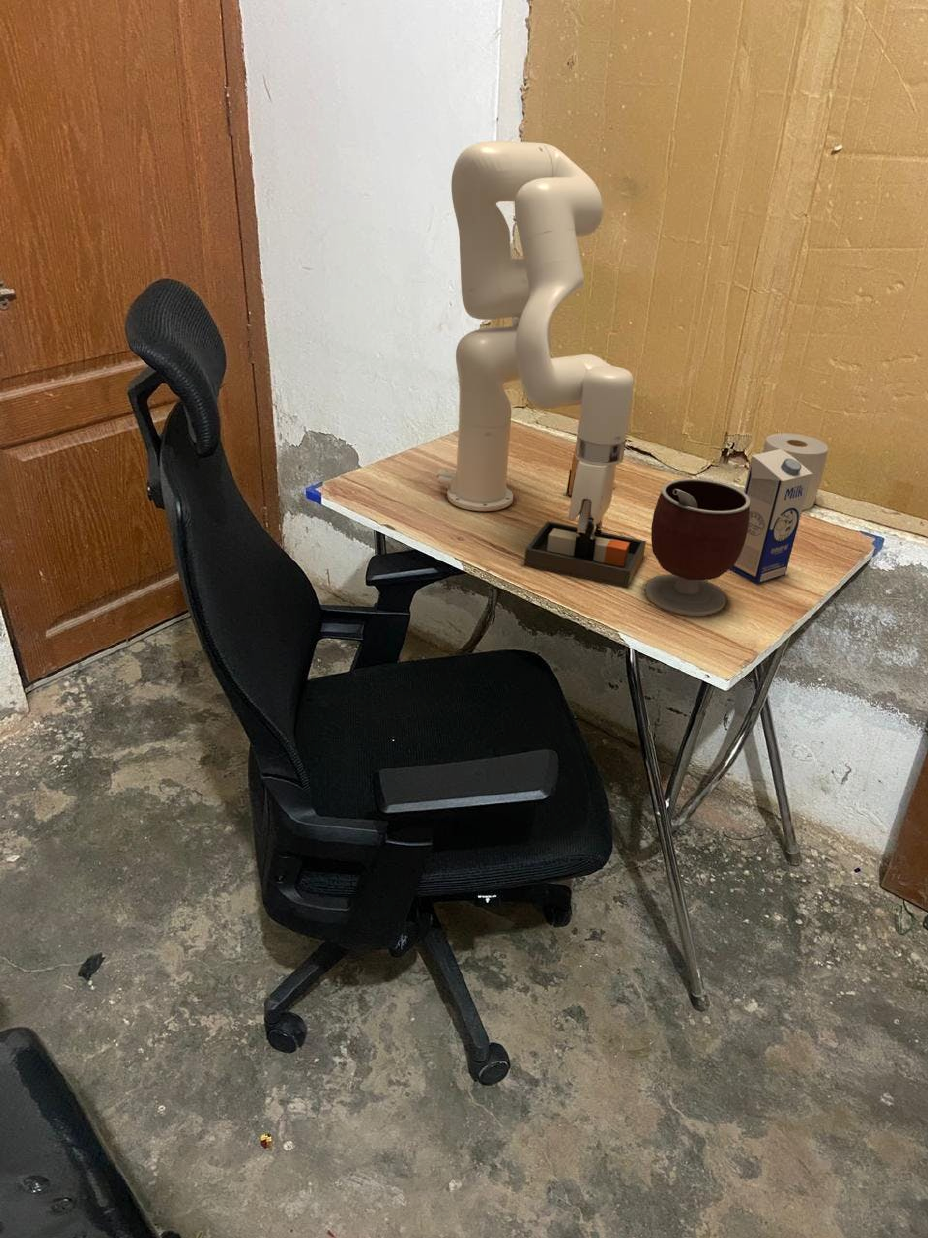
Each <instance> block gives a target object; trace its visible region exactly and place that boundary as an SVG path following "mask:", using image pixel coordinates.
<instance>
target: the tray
mask: <svg viewBox="0 0 928 1238" xmlns="http://www.w3.org/2000/svg"><path fill="white" fill-rule="evenodd" d="M554 528H555V529H560V530H565V531H570V532H576V533H577V529H578V526H574V525H573V526H572V525H568V524H563V523H559V522H553V521H546V522H545V524H544V525H543V526H542V527H541V529H540V530H539V531H538V533H537V534H536V535H535V536H534V538H533V539H532V540H531V541H530V543H529V544H528V545H527V546H526V548H525V549H524V550H525V551H524V562H523V565H524V566H526V567H530V568H534V569H540V570H542V571H543V570H544V571H548V572H553V573H558V574H561V575H566V576H571V577H576V578H579V579H584V580H588V581H593V582H599V583H601V584H602V583H603V584H608V585H612V586H616V587H621V588H626V589H629V586H630V585H631V584H632V583H631V582H632V581H633V578H634V577H635V574H636V572H637V570H638V569H639V566H640V564H641V562H642V560H643V559H644V555H645V550H646V543H647V541H646V540H642V539H637V538H632V537H628V536H623V535H617V534H612V533H608V532H603V531H602V532H601V538H606V539H614V540H619V541H624V542H629V543H630V545H629V551H628V557H627V561H626V562H625V564H624V566H623V567H622V566H617V565H612V564H608V563H603V562H598V561H588V560H583V559H578V558H574V556H569V555H564V554H560V553H555V552H550V551H547V547H548V537H549V534H550V533H551V531H552V530H553V529H554Z"/></svg>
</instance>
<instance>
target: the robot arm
mask: <svg viewBox="0 0 928 1238" xmlns="http://www.w3.org/2000/svg"><path fill="white" fill-rule="evenodd" d="M450 184H451V185H450V186H451V200H452V203H453V204H452V205H453V209H454V214H455V218H456V222H457V228H458V234H459V235H458V236H459V258H460V278H461V279H460V280H461V281H460V282H461V297H462V303H463V308H464V310H465V313H466V314H468V316H469V317H471V318H472V319H476V320H481V321H485V320H486V321H487V320H499V319H501V320H502V319H509V318H510V319H511V325H505V326H504V325H503V326H494V327H485V328H478V329H475V330H472V331H470V332H468V333H466V334H465V335H463V337H461V339H460V340H459V342H458V343H457V346H456V350H455V362H456V370H457V371H456V372H457V376H458V388H459V402H458V403H459V405H458V407H459V408H458V411H459V412H458V433H457V454H456V470H453V471H450V470H446V469H441V468H439V469H438V470H437V472H436V479H437V483H438V484H441V485H448V486H449V488H448V489H447V493H446V497H447V498H446V499H447V500H448V501H449V502H450V503H451V504H452V505H453V506H456V507H458V508H461V509H464V510H468V511H475V512H495V511H499V510H504V509H506V508H507V507H509V506H511V504H512V503H513V502H514V494H513V492H512V490H510V488H508V487H507V476H508V465H509V452H510V441H511V440H510V438H511V425H512V405H511V401H510V399H509V397H508V395H507V394H506V391H505V389H504V384H508V383H512V382H519V381H520V382H521V387H522V391H523V392H524V395H525V397H526V399H527V400H528V402H529V403H530V404H531V405H532V406H533V407H535V408H537V409H539V410H554V409H559V408H565V407H571V406H579V407H580V408H579V417H578V424H577V425H578V426H577V435H576V444H575V447H576V451H575V450H574V453H575V457H576V458H577V459H578V460H579V463H578V467H577V471H576V475H575V480H574V486H573V492H572V497H570V498H571V499H570V506H569V511H568V520H570V521H571V522H573V521H575V520H576V519H577V518H578V522H577V527H578V529H577V536H576V543H575V551H574V558H578V559H583V560H588V561H593V559H594V552H595V544H596V539H595V538H594V537H595V536H596V537H601V532H603V531H602V527H603V521H604V520H603V519H604V516H605V514H606V513H607V512H608V510H609V508H610V505H611V502H612V498H613V492H614V486H615V477H616V467H617V465H620V464H622V463H623V462H624V456H625V448H626V442H627V434H628V427H629V421H630V413H631V406H632V399H633V392H634V387H635V386H634V385H635V378H634V376H633V373H632V372H631V371H629V370H628V369H626V368H624V367H620V366H615V365H614V366H613V365H612V364H610V363H608V362H606V361H605V360H604V359H603V358H601V357H600V356H597V355H595V354H593V353H583V354H575V355H565V356H564V355H563V356H558V357H551V353H552V321H551V320H552V317H553V315H554V313H555V311H556V310H557V308H558V307H559V306H560V305H561V303H563V302H564V301H565V300H567V299H568V298H570V297H571V296H573V295H574V294H576V293H577V292H579V290H581V288H582V287H583V285H584V282H585V276H584V271H583V266H582V265H583V264H582V260H581V255H580V250H579V243H578V238H583V237H588V236H591V235H593V234H594V233H595V232H596V231H597V230H598V228H599V226H600V225H601V223H602V220H603V216H604V215H603V214H604V202H603V198H602V195H601V192H600V190H599V188H598V186H597V185H596V183H595V181H594V180H593V179H592V178H591V177H590V176H589V175H588V174H587V173H586V172H585V171H584V170H583V169H582V168H581V167H580V166H578V164H576V163H575V162H574V161H573V160H571V158H569V157H568V155H566V154H565V153H564V152H562V151H561V150H560V149H559V148H557V147H556V146H554V145H552V144H549V143H545V142H533V141H531V142H530V141H510V140H488V141H482V142H477V143H474V144H471V145H469V146H468V147H466V148H465V149H464V150H463V151H462V152H461V153H460V154H459V156H458V157H457V159H456V161H455V163H454V166H453V170H452V175H451V183H450ZM499 202H514V214H515V220H516V225H517V231H518V236H519V242H520V247H521V252H522V258H512V251H511V250H512V249H511V231H510V227H509V225H508V222H507V220H506V217H505V216H504V214H503V212H502V210H501V209H500V207H498V205H497V204H498V203H499ZM578 516H579V517H578Z"/></svg>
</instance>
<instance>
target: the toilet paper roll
mask: <svg viewBox="0 0 928 1238" xmlns="http://www.w3.org/2000/svg"><path fill="white" fill-rule="evenodd" d="M778 449H782V450H783V451H785V452H786V453H788V454H790V455H791V456H792V457H794V458H795V459H796V460H797V461H798V462H800V463H801V464H802V465H803V466H804V467H806V468H807V469H808V470H809V471H810V472H812V473H813V474H812V476H811V480H810V483H809V487H808V491H807V495H806V498H805V502H804V506H803V510H802V511H805V510H809V509H810V508H812V507H813V506H814V503H815V500H816V497H817V495H818V491H819V488H820V485H821V482H822V478H823V474H824V469H825V466H826V462H827V457H828V453H829V446H828V445H827V444H826V442H824V441H822V440H819V439H817V438H814V437H811V436H807V435H802V434H797V433H795V434H794V433H785V432H784V433H773V434H770V435H768V436H767V437H766V438H765V441H764V445H763V448H762V451H761V453H765V452H769V451H774V450H778Z"/></svg>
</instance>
